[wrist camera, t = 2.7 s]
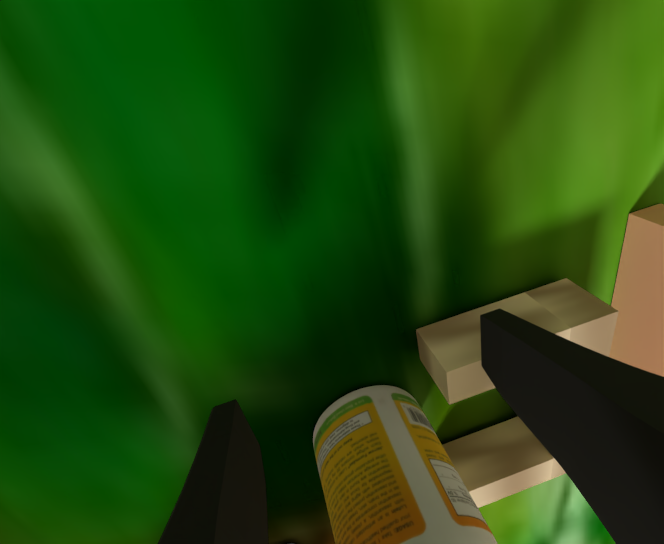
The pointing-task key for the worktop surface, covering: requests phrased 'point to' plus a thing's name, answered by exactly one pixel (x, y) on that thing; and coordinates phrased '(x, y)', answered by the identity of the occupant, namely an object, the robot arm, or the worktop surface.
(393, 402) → the supplement bottle
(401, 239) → the worktop surface
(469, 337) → the slot block
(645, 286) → the rail
